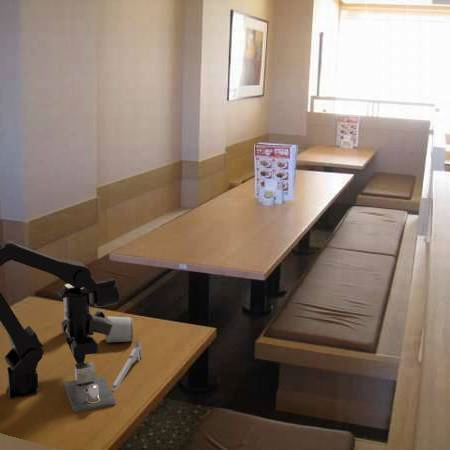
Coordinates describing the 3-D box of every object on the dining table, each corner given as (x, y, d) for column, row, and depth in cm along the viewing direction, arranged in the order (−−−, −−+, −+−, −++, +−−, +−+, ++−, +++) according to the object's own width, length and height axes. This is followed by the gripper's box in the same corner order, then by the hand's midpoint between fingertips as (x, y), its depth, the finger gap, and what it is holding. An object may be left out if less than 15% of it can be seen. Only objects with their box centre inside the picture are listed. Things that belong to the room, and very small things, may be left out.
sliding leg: (77, 384, 161) (76, 368, 160) (75, 378, 163) (74, 363, 162) (94, 381, 162) (94, 365, 161) (92, 376, 165) (91, 360, 164)
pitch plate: (73, 412, 151) (72, 393, 150) (64, 387, 163) (63, 369, 161) (115, 404, 155) (115, 385, 154) (103, 380, 166) (102, 363, 165)
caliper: (138, 357, 181) (138, 337, 179) (142, 358, 181) (141, 337, 179) (110, 392, 161) (109, 369, 160) (114, 392, 161) (114, 369, 160)
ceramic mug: (134, 345, 188) (133, 320, 187) (105, 346, 187) (105, 321, 185) (133, 331, 199) (132, 308, 197) (106, 333, 197) (105, 309, 196)
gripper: (118, 318, 159) (119, 376, 163) (101, 294, 176) (102, 347, 179) (72, 325, 155) (75, 384, 158) (59, 300, 171) (62, 354, 175)
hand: (80, 366), depth 168 cm, fingers closed
